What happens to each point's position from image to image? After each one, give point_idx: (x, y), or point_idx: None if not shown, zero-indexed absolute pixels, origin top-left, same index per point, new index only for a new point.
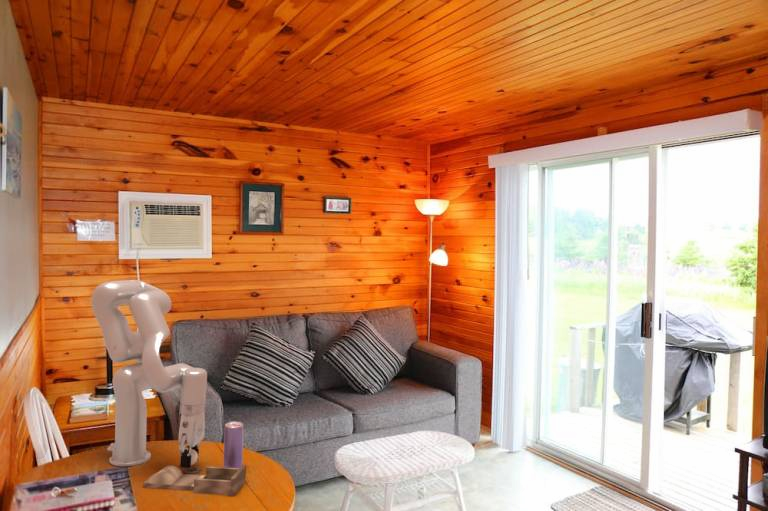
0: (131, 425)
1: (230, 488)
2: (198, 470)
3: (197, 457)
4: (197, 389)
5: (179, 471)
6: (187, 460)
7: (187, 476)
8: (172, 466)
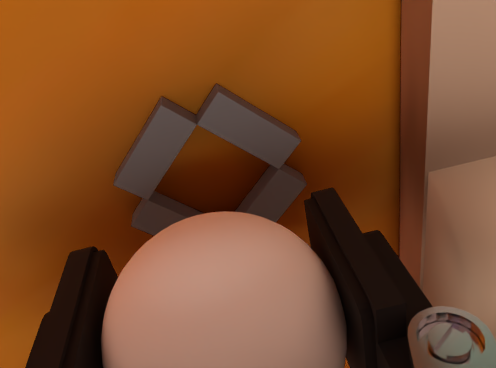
0: None
1: None
2: (190, 121)
3: (182, 246)
4: None
5: (483, 211)
6: (391, 275)
7: (487, 87)
8: (490, 315)
